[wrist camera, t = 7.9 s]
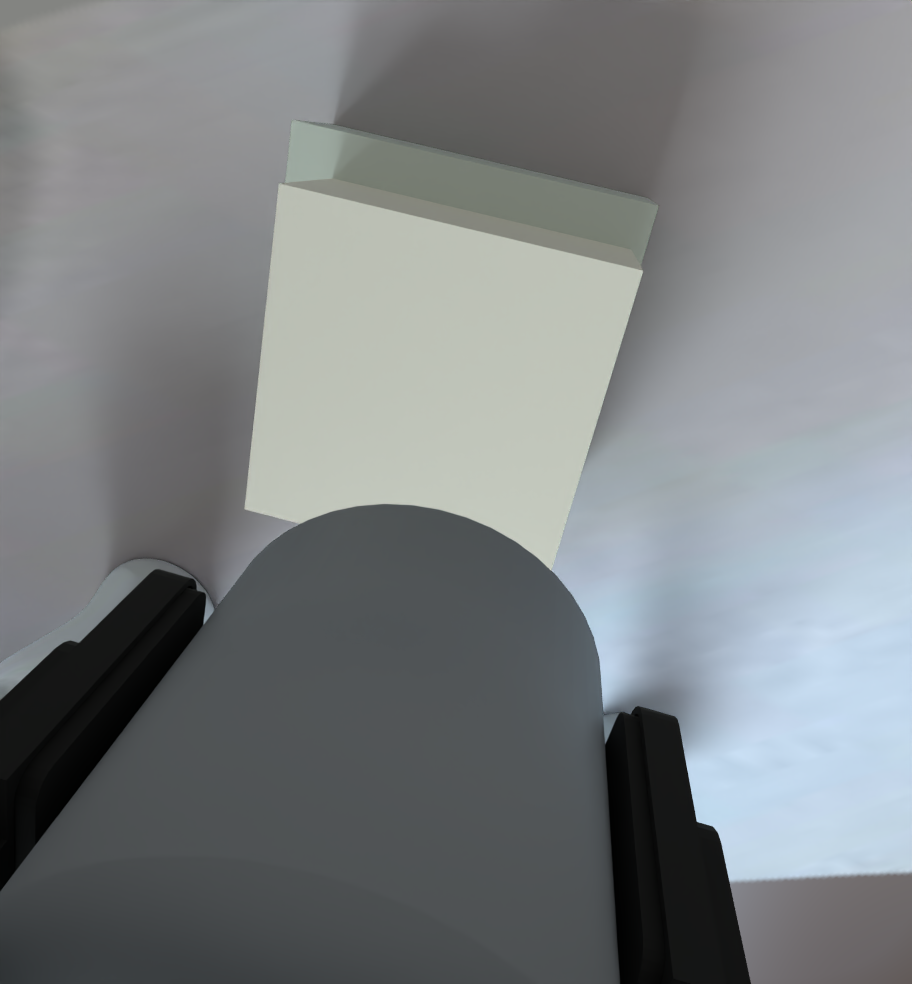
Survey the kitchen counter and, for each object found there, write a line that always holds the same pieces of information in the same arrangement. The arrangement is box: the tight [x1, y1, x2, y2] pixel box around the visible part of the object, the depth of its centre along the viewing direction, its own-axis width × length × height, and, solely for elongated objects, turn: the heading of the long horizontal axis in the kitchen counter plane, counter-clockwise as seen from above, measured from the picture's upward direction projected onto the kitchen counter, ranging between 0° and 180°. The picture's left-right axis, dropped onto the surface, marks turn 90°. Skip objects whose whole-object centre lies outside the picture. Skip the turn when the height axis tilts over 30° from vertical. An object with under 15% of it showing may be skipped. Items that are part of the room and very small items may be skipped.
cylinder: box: [0, 504, 620, 984], centre depth 9 cm, size 6×6×6 cm
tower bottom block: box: [285, 120, 659, 266], centre depth 29 cm, size 12×12×5 cm
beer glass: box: [0, 558, 215, 700], centre depth 32 cm, size 7×7×15 cm
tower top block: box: [245, 178, 643, 570], centre depth 25 cm, size 10×10×5 cm
